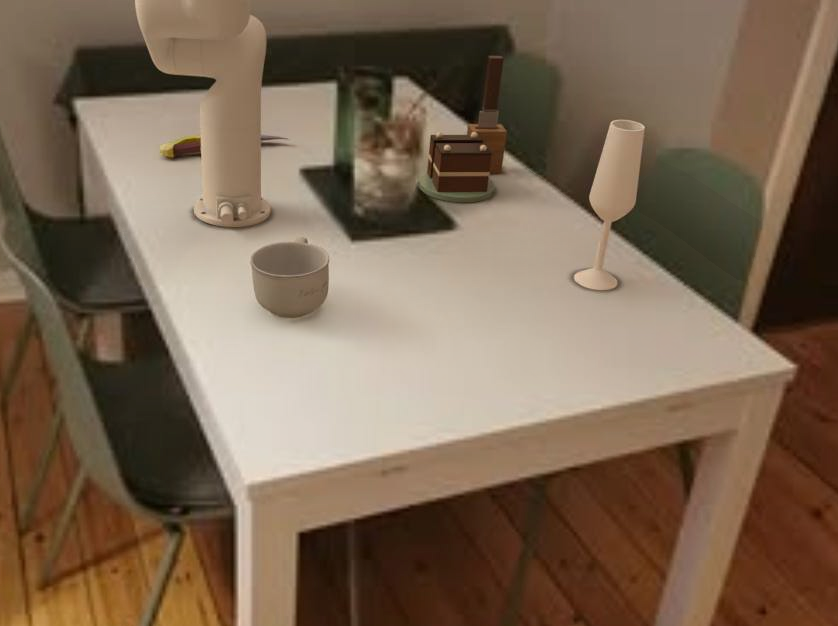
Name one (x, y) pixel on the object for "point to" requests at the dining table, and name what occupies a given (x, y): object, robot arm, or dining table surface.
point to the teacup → (290, 277)
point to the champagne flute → (613, 191)
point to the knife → (193, 145)
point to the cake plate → (429, 189)
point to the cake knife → (491, 94)
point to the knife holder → (492, 144)
